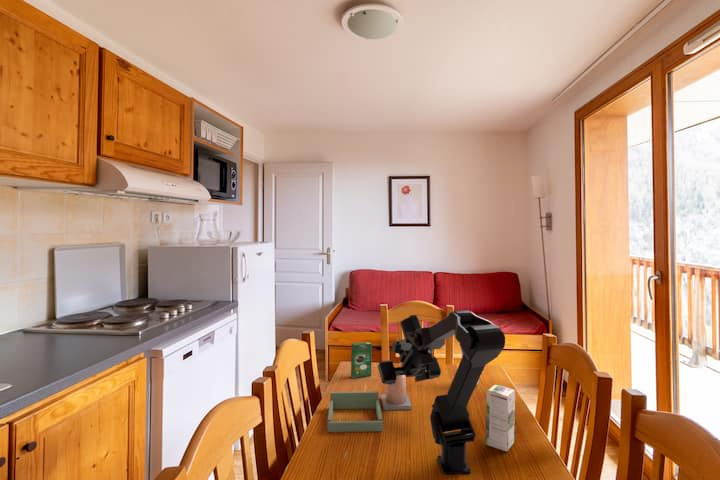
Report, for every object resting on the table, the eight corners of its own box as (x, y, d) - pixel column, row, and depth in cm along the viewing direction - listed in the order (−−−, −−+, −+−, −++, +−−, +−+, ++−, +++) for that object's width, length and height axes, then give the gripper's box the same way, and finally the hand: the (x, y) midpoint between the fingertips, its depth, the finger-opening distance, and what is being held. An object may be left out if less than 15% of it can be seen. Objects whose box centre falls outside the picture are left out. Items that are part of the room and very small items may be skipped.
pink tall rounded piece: (401, 405, 120) (401, 377, 120) (382, 402, 123) (383, 374, 123) (408, 398, 126) (408, 371, 126) (390, 394, 129) (390, 368, 129)
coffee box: (369, 373, 153) (369, 341, 153) (372, 375, 150) (372, 342, 150) (350, 376, 150) (350, 343, 150) (353, 378, 147) (353, 345, 147)
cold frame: (382, 431, 107) (382, 413, 107) (327, 432, 106) (327, 414, 106) (378, 406, 122) (378, 391, 122) (330, 407, 122) (330, 392, 122)
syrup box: (493, 436, 104) (493, 383, 104) (515, 443, 100) (515, 388, 100) (485, 445, 100) (485, 389, 100) (508, 453, 96) (508, 395, 96)
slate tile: (411, 409, 120) (411, 405, 120) (383, 409, 120) (383, 406, 120) (407, 397, 129) (407, 394, 129) (381, 398, 129) (381, 394, 129)
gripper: (436, 330, 117) (420, 356, 128) (379, 335, 112) (368, 361, 122) (449, 363, 110) (432, 388, 120) (389, 370, 104) (376, 395, 115)
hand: (402, 382), depth 120 cm, fingers open, 9 cm apart
